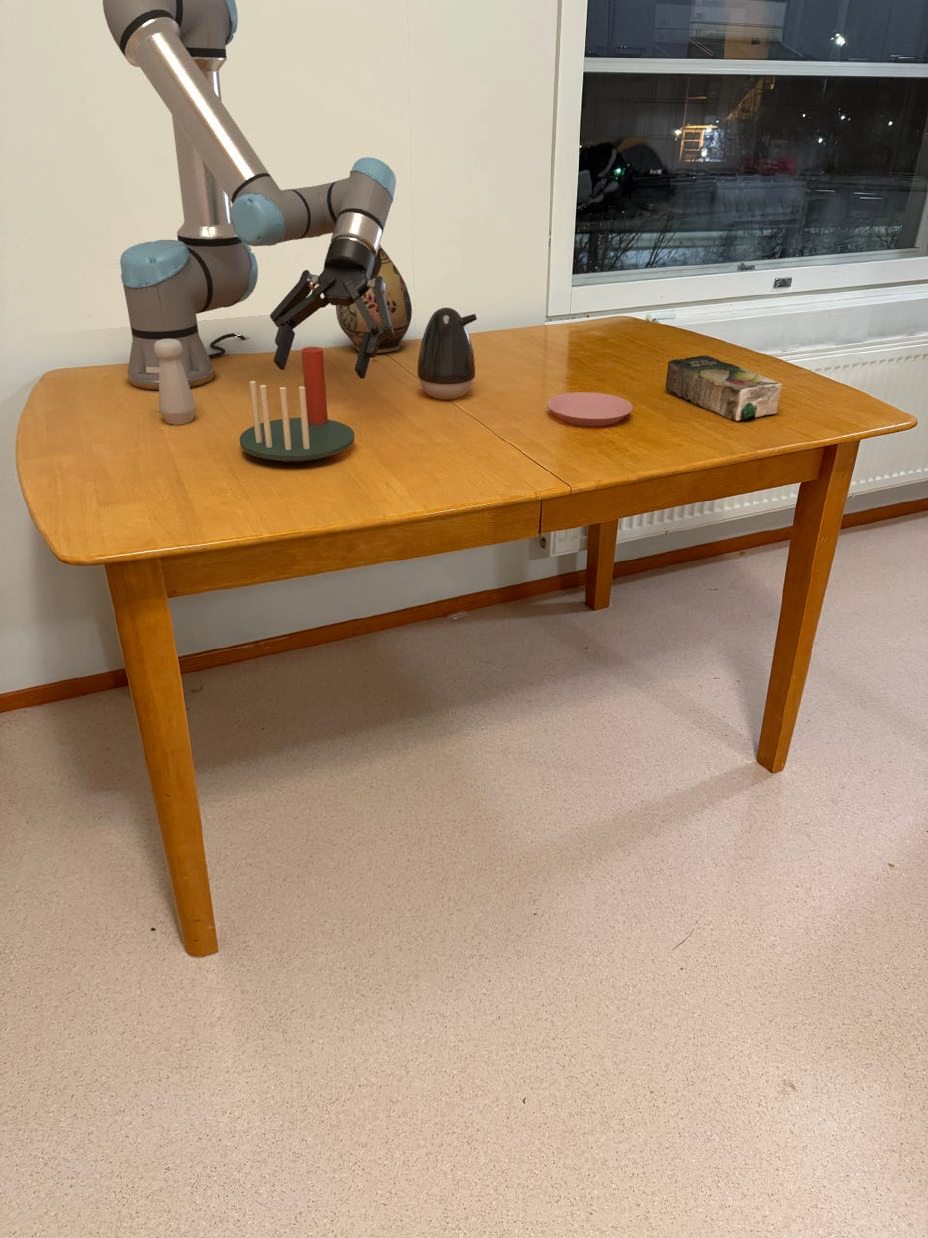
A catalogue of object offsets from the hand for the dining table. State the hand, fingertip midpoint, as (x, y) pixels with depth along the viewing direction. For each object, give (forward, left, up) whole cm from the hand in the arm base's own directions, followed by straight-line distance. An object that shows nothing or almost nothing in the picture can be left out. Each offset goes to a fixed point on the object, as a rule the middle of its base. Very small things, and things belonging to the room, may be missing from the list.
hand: (318, 369), depth 142 cm
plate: (+1, +44, -10) cm, 46 cm away
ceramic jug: (-49, +15, -10) cm, 52 cm away
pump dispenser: (-15, +23, -10) cm, 29 cm away
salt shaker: (-10, -23, -10) cm, 26 cm away
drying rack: (+8, -5, -10) cm, 14 cm away
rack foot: (+8, -5, -10) cm, 14 cm away
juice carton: (-1, +69, -10) cm, 70 cm away
